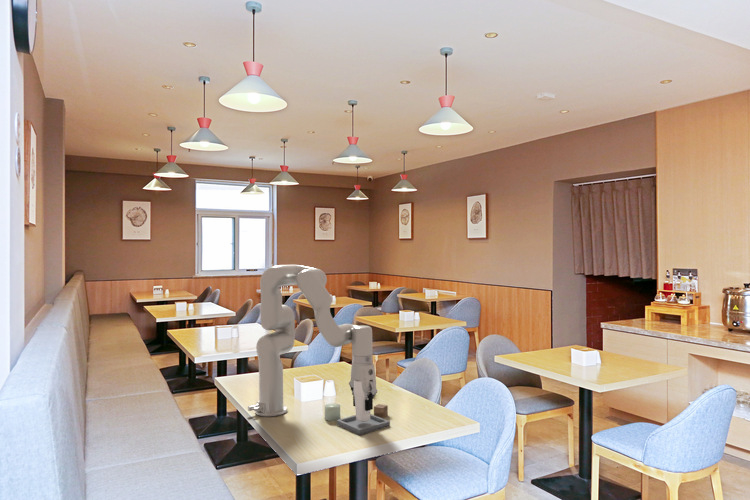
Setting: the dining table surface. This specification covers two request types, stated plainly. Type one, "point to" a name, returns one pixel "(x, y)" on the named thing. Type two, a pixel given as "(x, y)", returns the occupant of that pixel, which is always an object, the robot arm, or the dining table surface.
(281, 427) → the dining table surface
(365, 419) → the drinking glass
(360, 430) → the slate tray
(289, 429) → the dining table surface
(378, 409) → the walnut block
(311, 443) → the dining table surface
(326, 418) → the pale green rounded cylinder
